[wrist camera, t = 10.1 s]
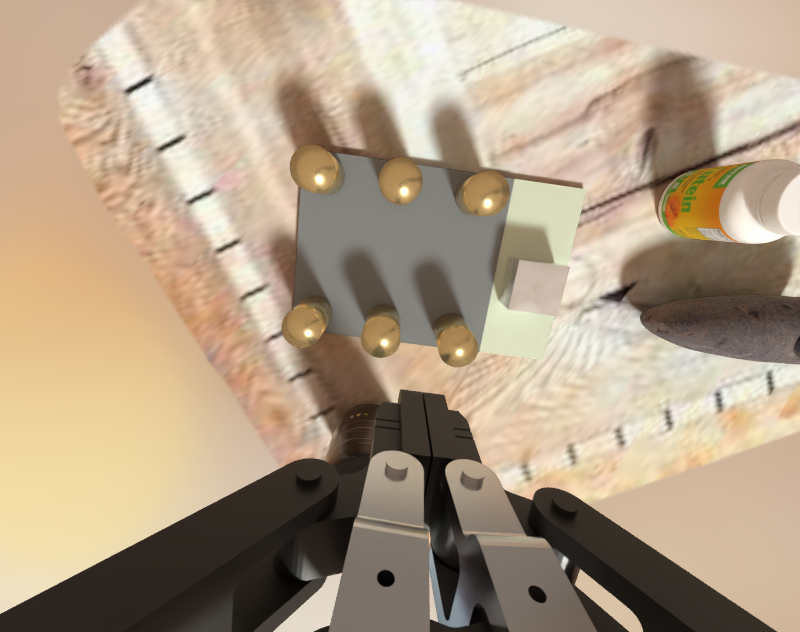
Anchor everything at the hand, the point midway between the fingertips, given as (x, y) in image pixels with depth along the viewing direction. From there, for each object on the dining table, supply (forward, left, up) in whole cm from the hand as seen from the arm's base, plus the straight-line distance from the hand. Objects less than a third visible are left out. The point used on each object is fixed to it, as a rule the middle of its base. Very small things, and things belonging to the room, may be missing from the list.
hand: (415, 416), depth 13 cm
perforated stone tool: (-27, -2, -21) cm, 35 cm away
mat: (-2, -3, -21) cm, 21 cm away
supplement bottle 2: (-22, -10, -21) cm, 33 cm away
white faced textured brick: (-10, -2, -21) cm, 23 cm away
